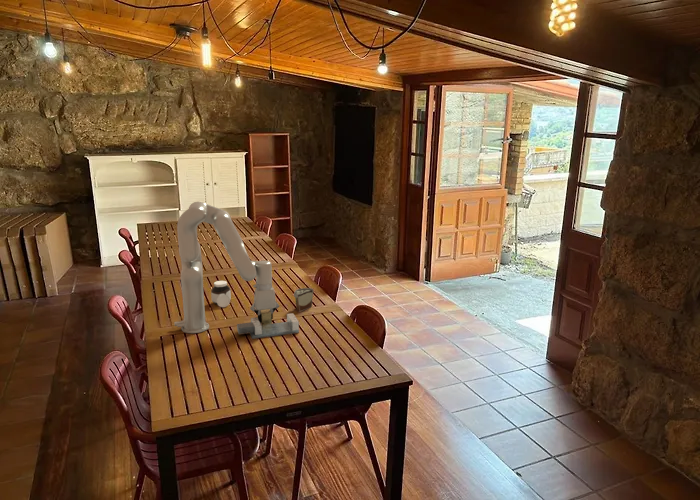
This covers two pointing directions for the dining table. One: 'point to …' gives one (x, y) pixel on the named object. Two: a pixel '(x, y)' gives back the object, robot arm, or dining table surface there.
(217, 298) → the spread jar
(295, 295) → the food container
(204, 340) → the dining table surface
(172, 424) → the dining table surface
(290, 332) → the vise
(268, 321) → the brass block
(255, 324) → the vise jaw
